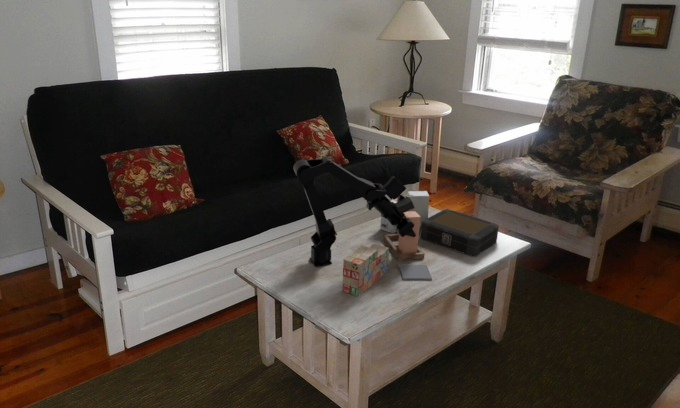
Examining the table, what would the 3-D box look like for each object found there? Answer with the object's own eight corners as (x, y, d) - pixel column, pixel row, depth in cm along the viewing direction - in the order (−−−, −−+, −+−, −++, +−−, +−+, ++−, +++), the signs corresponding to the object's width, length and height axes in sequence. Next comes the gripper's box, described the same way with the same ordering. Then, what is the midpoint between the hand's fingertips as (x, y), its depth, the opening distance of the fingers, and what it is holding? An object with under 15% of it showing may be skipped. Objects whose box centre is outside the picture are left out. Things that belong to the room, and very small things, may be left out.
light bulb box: (393, 233, 230) (394, 209, 226) (379, 229, 234) (380, 205, 230) (406, 225, 238) (408, 202, 234) (393, 221, 242) (394, 198, 238)
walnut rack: (399, 260, 208) (399, 256, 208) (383, 239, 225) (383, 234, 224) (424, 258, 211) (424, 253, 210) (406, 237, 227) (406, 232, 227)
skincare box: (424, 223, 241) (427, 190, 236) (427, 228, 236) (430, 195, 230) (405, 222, 241) (407, 190, 235) (407, 228, 235) (410, 195, 230)
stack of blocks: (373, 266, 204) (374, 235, 200) (388, 271, 201) (390, 239, 197) (342, 291, 187) (343, 258, 183) (358, 297, 184) (359, 263, 180)
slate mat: (403, 279, 195) (403, 278, 195) (399, 266, 205) (399, 264, 204) (431, 279, 196) (431, 278, 196) (426, 266, 205) (426, 264, 205)
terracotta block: (402, 257, 211) (406, 217, 205) (397, 250, 216) (401, 211, 210) (416, 256, 212) (420, 216, 206) (411, 249, 217) (415, 211, 211)
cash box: (417, 239, 227) (419, 221, 224) (444, 224, 241) (445, 207, 238) (473, 259, 212) (476, 240, 209) (498, 242, 226) (500, 224, 223)
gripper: (411, 201, 195) (437, 227, 202) (393, 183, 212) (418, 208, 219) (388, 223, 196) (415, 249, 203) (372, 204, 213) (397, 228, 220)
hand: (412, 232), depth 211 cm, fingers closed on terracotta block, 6 cm apart
